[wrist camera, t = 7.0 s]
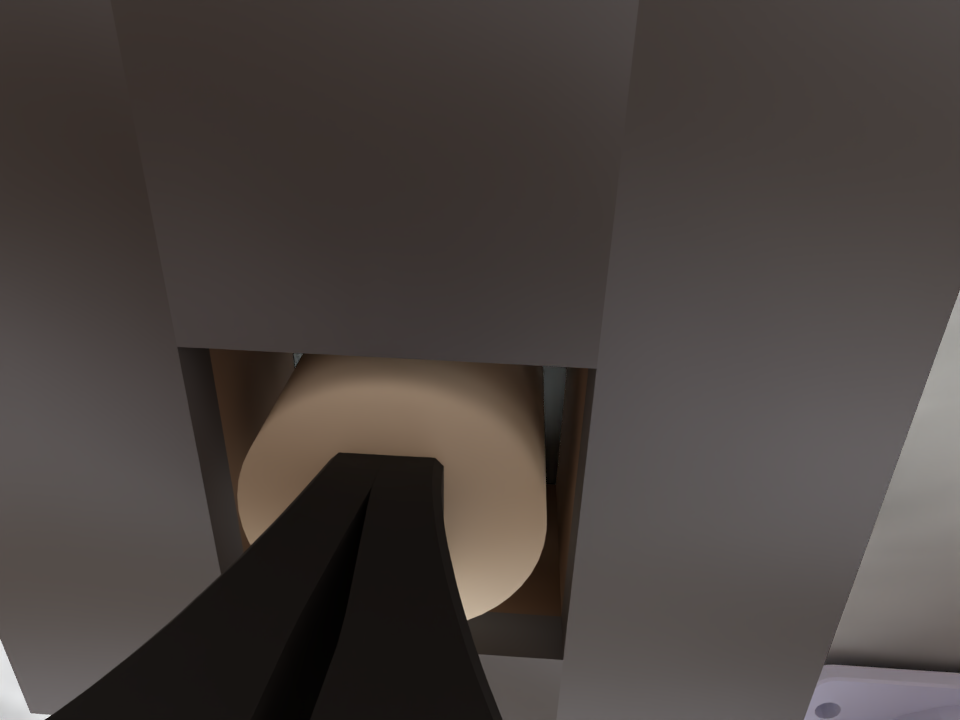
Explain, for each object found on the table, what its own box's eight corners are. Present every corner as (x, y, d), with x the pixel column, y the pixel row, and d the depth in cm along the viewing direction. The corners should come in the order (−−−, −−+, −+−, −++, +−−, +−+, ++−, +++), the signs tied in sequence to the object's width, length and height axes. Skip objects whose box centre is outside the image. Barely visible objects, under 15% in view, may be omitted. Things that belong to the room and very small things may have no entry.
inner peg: (536, 479, 14) (536, 639, 11) (319, 466, 14) (256, 620, 11) (551, 276, 12) (558, 397, 9) (299, 264, 12) (216, 378, 9)
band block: (728, 578, 15) (786, 768, 12) (143, 541, 16) (31, 713, 12) (1117, -975, 6) (1810, -2061, 3) (-233, -943, 7) (-1011, -1845, 3)
